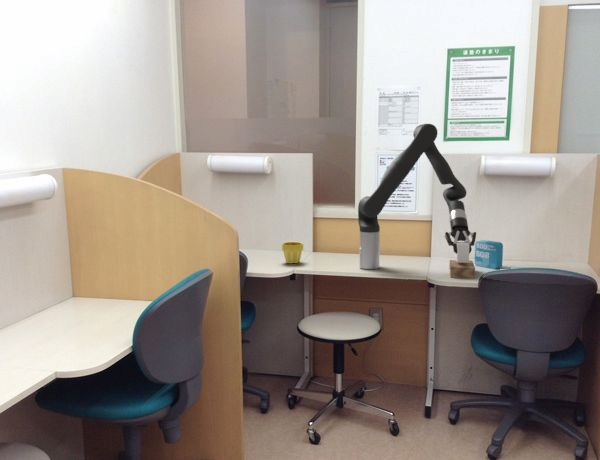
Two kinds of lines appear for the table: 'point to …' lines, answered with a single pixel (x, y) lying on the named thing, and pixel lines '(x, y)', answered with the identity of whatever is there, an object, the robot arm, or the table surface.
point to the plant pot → (292, 251)
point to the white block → (462, 252)
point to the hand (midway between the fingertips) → (463, 252)
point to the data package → (488, 254)
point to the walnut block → (462, 269)
